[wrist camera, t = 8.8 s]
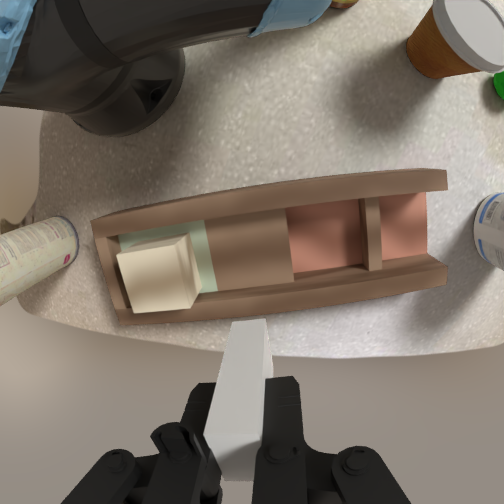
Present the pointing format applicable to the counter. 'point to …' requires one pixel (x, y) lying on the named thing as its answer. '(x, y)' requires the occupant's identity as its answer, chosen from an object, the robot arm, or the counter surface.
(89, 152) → the counter surface
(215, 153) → the counter surface
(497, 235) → the supplement tub
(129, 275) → the birch block
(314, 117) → the counter surface
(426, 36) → the disposable coffee cup
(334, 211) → the box
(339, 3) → the sauce bottle
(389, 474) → the robot arm
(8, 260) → the aerosol can
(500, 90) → the polyhedron
